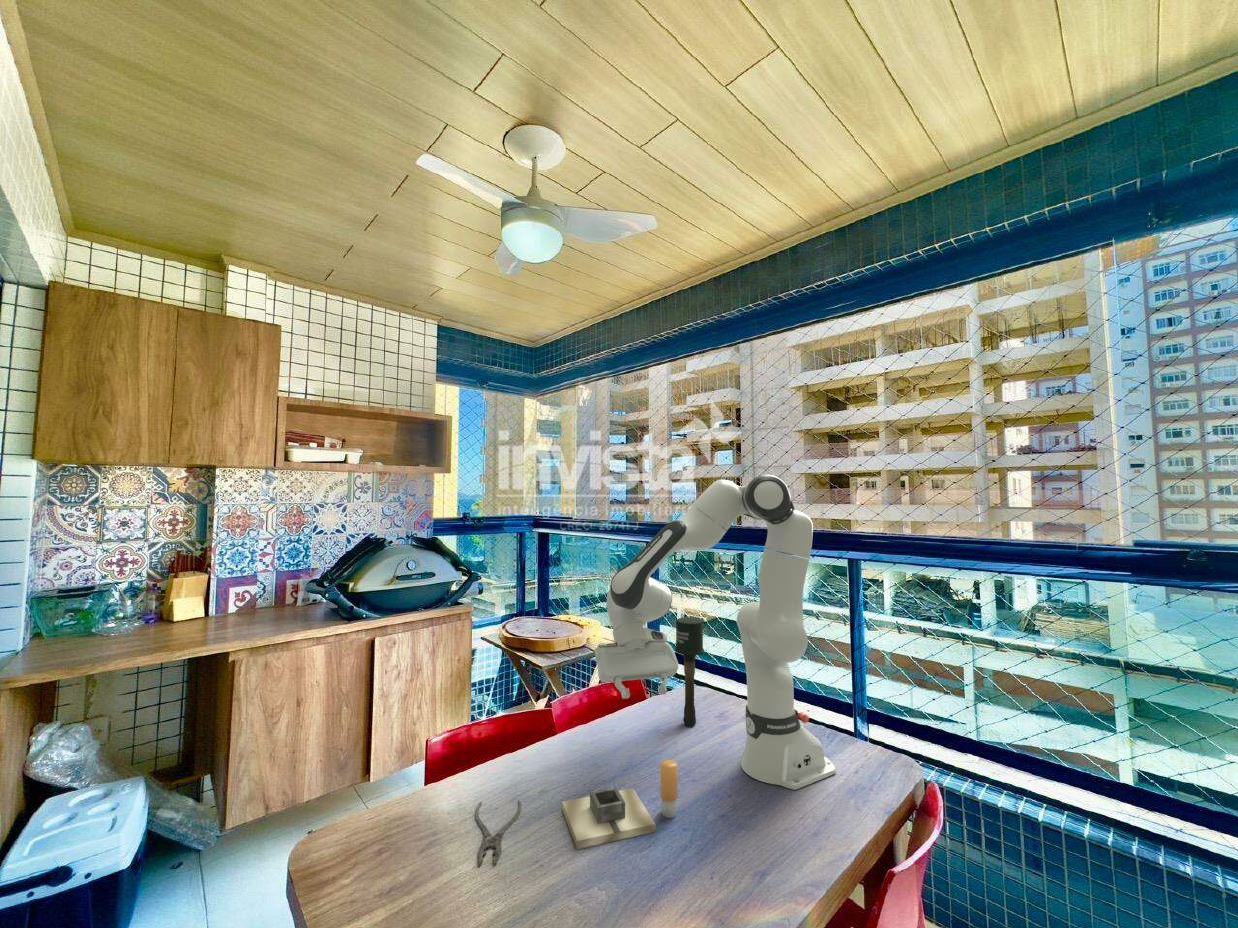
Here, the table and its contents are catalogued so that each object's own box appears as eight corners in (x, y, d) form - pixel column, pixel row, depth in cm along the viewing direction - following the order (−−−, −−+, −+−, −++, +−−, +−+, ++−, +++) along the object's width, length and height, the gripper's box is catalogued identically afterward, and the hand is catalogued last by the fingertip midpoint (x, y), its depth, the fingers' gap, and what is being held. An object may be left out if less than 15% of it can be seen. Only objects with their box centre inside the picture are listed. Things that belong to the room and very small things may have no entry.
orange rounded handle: (673, 806, 109) (673, 758, 109) (680, 816, 105) (680, 766, 106) (657, 809, 108) (657, 761, 108) (664, 820, 104) (664, 769, 105)
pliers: (519, 794, 112) (532, 855, 93) (519, 798, 112) (532, 860, 93) (474, 801, 109) (478, 866, 90) (474, 806, 109) (477, 871, 90)
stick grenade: (673, 717, 152) (673, 616, 154) (702, 718, 152) (702, 616, 154) (676, 730, 144) (675, 623, 146) (706, 731, 144) (706, 623, 145)
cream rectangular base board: (632, 794, 113) (632, 773, 113) (655, 831, 101) (655, 807, 101) (562, 808, 108) (562, 786, 108) (577, 849, 96) (577, 824, 96)
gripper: (595, 637, 124) (606, 693, 115) (671, 632, 131) (688, 685, 121) (590, 650, 128) (600, 705, 118) (664, 645, 135) (679, 697, 125)
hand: (645, 695), depth 120 cm, fingers open, 8 cm apart
